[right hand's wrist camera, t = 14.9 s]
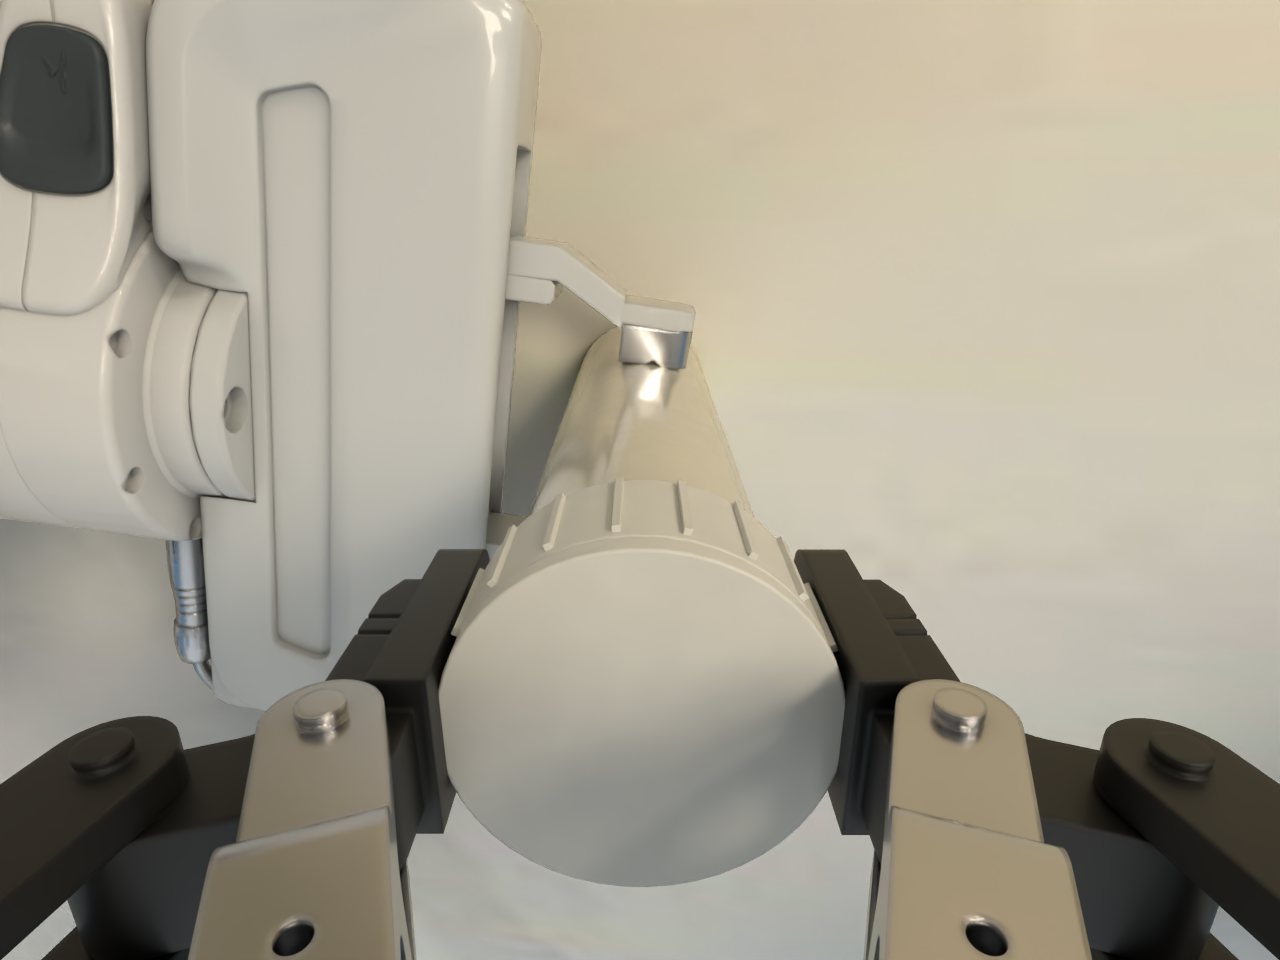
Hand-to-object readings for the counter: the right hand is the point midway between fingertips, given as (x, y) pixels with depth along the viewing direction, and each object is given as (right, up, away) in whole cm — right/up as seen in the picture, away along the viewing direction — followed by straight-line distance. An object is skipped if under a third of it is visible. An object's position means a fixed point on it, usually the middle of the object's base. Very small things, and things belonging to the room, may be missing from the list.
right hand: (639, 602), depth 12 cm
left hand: (+1, +3, +8) cm, 9 cm away
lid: (0, -1, -3) cm, 3 cm away
